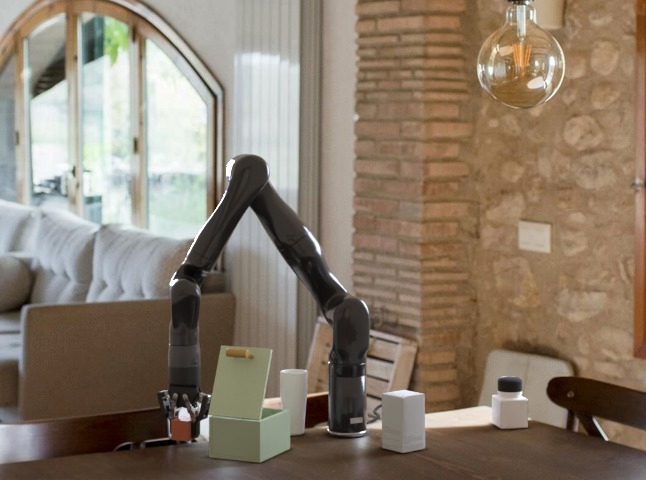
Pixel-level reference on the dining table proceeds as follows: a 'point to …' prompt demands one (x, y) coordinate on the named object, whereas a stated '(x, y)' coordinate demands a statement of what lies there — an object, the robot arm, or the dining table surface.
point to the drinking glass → (294, 397)
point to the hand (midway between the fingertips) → (184, 436)
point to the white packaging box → (403, 421)
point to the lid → (240, 382)
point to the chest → (250, 436)
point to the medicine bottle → (509, 404)
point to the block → (181, 429)
